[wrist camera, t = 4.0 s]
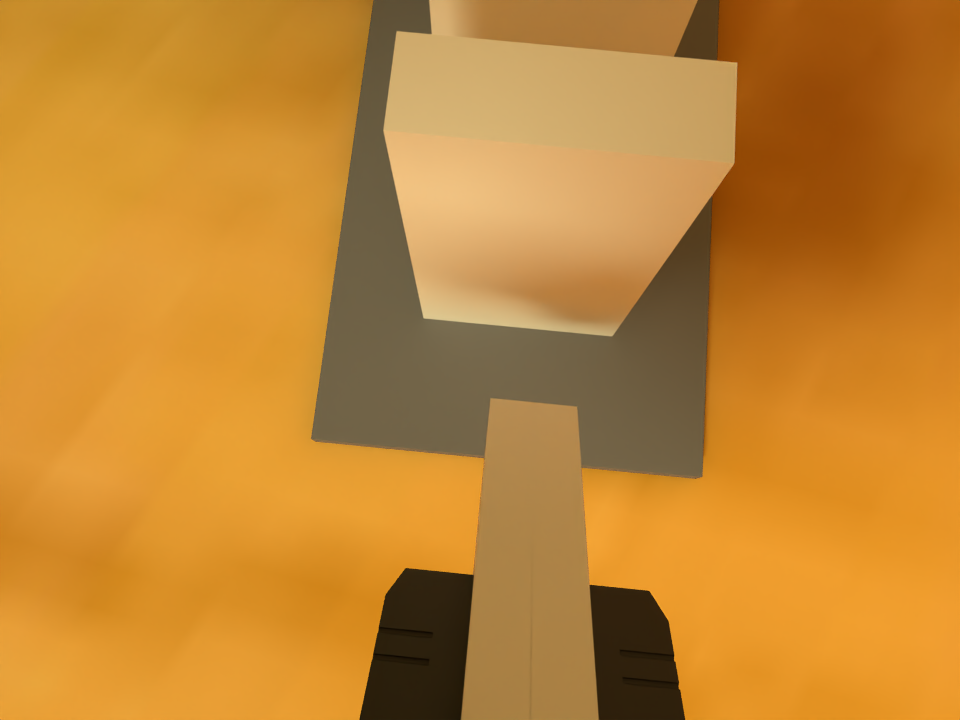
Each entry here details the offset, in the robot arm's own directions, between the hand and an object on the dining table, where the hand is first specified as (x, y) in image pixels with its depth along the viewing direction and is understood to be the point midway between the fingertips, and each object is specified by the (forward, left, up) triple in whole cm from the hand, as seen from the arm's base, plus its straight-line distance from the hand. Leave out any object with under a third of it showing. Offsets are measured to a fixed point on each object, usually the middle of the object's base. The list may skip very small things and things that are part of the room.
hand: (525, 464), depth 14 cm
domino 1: (-1, +5, -6) cm, 8 cm away
